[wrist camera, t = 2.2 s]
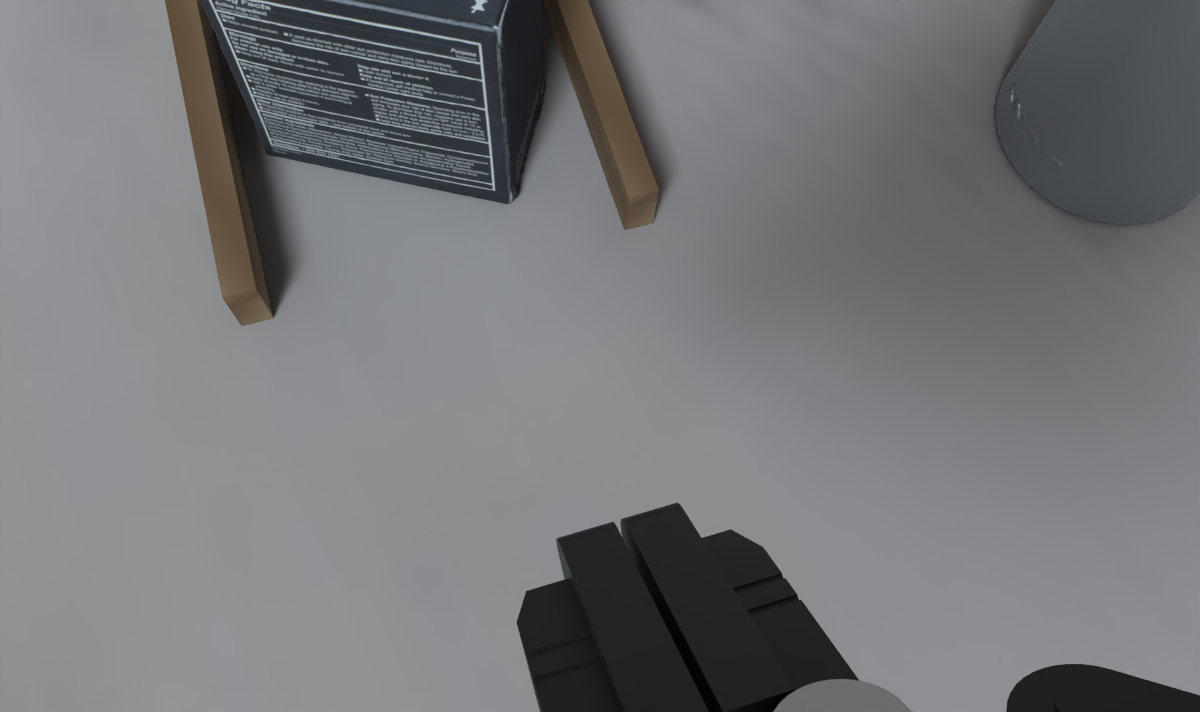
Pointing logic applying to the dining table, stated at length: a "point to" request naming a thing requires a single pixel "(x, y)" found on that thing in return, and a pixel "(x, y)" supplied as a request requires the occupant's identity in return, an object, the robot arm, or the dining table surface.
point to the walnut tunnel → (225, 174)
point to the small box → (392, 85)
